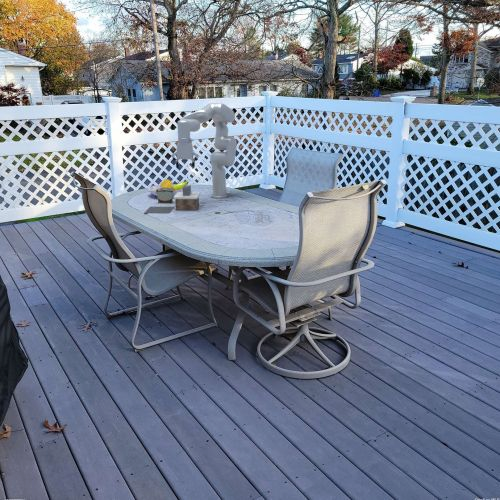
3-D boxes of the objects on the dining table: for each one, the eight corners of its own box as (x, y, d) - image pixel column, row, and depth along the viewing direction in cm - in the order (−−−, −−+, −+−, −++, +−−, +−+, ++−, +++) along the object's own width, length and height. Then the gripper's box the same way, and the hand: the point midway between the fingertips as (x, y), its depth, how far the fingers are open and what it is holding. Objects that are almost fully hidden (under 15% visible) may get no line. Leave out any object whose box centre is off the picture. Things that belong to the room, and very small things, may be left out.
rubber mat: (174, 207, 316) (174, 206, 316) (169, 214, 301) (169, 213, 300) (150, 207, 317) (150, 206, 316) (144, 214, 302) (144, 212, 301)
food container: (176, 202, 331) (175, 187, 327) (174, 204, 325) (173, 189, 322) (159, 201, 332) (157, 187, 329) (156, 203, 326) (155, 189, 323)
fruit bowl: (142, 198, 341) (141, 182, 337) (160, 190, 365) (158, 175, 362) (178, 201, 333) (177, 185, 329) (194, 192, 358) (193, 177, 354)
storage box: (199, 205, 320) (198, 194, 318) (196, 210, 308) (195, 198, 305) (179, 205, 321) (179, 194, 318) (176, 210, 309) (175, 198, 306)
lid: (200, 193, 318) (200, 184, 316) (196, 199, 304) (196, 189, 302) (177, 193, 319) (177, 184, 317) (173, 198, 305) (172, 189, 303)
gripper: (199, 140, 303) (199, 167, 309) (171, 140, 304) (173, 167, 309) (197, 141, 296) (198, 169, 302) (169, 141, 297) (170, 169, 302)
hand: (185, 168), depth 305 cm, fingers open, 9 cm apart
